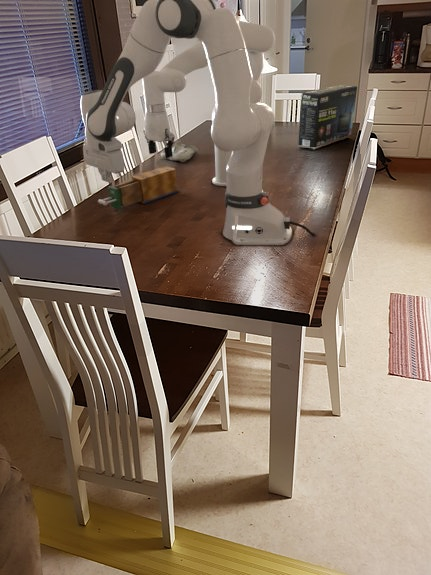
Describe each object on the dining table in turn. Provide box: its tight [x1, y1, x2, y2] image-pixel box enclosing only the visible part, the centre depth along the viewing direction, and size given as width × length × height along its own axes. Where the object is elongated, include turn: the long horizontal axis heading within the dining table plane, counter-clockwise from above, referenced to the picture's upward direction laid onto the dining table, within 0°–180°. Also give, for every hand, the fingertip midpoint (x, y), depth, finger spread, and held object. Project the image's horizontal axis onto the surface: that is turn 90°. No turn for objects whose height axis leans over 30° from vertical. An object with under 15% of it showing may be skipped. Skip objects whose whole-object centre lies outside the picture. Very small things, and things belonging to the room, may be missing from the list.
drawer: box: [97, 179, 143, 210], centre depth 172 cm, size 22×5×8 cm, turn 135°
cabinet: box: [131, 165, 179, 205], centre depth 181 cm, size 17×6×10 cm, turn 135°
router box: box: [297, 84, 358, 151], centre depth 238 cm, size 36×11×27 cm, turn 134°
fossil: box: [160, 142, 199, 163], centre depth 229 cm, size 18×11×15 cm
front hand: (106, 180), depth 164 cm, fingers closed
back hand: (160, 155), depth 177 cm, fingers open, 9 cm apart
